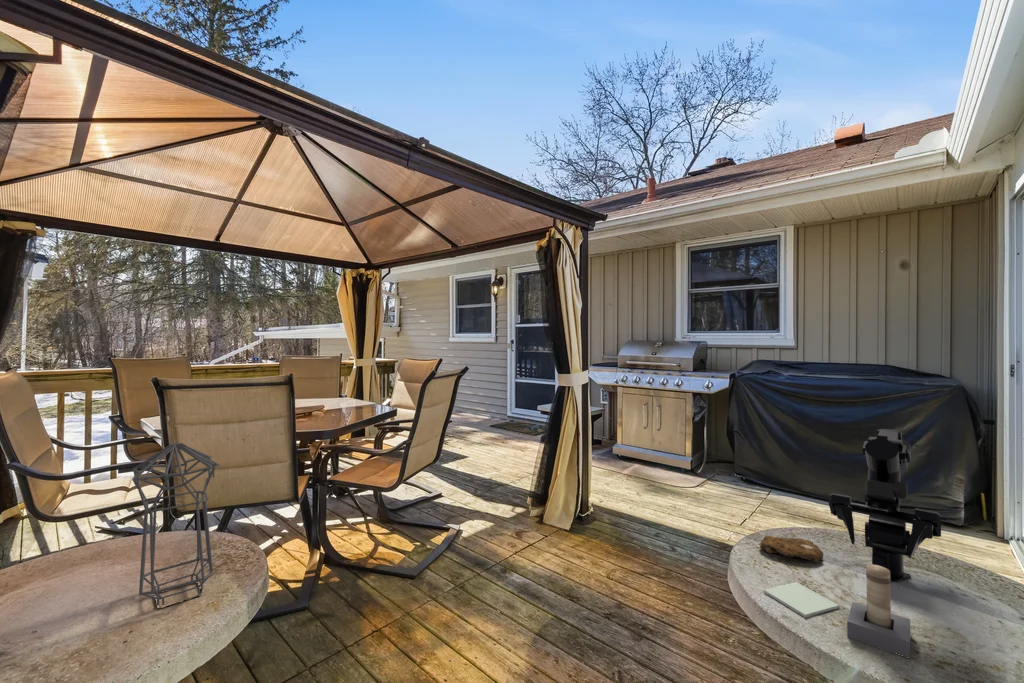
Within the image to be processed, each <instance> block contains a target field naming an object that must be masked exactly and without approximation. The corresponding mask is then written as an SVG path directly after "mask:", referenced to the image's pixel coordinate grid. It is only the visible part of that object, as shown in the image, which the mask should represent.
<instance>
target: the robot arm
mask: <svg viewBox="0 0 1024 683" xmlns="http://www.w3.org/2000/svg"><path fill="white" fill-rule="evenodd" d="M876 432H877V434H876V435H875V436H869V437H868V439H867V441H866V440H865V441H864V442H863V447H862V454H863V456H865V458H866V465H867V467H868V468H867V470H868V472H867V479H866V480H865V489H864V499H863V500H864V502H865V504H862V503H857V502H856V503H855V502H852V496H850V495H845V494H839V493H834V492H833V493H830V494H829V496H828V507H829V509H830V510H829V511H830V514H832V515H833V516H835V517H837V519H838V520H841V521H843V524H844V526H845V528H846V530H847V533H848V536H849V540H850V543H851V544H852V545H855V540H856V538H855V524H854V517H853V513H857V514H862V515H867V516H868V521H865V523H864V540H865V541H864V542H865V545H864V546H865V547H868V548H871V549H872V551H871V552H872V554H871V564H872V565H878V566H882V567H884V568H887V569H888V570H889V571H890V577H891V582H899V581H902V580H906V579H909V578H912V575H911V574H909V573H907V572H904V571H905V570H904V568H905V566H904V556H906V557H907V558H908V559H912V557H913V556H915V552H916V551H917V549H918V548H919V547H920V545H921V544H922V543H923V542H924V541H925V540H926V539H930V540H931V539H932V540H933V537H936V538H940V537H942V516H941V514H940V513H939V512H937V511H933V510H928V509H922V508H917V507H915V508H914V513H910V512H909V513H908V512H903V511H900V505H901V504H900V500H901V499H902V500H908V482H903V481H902V482H901V476H902V475H903V474H905V473H906V472H908V464H911V462H912V460H911V459H912V457H911V451H912V450H911V443H910V442H909V441H908V440H906V439H905V438H904V437H902V436H903V435H902V431H899V430H897V429H896V430H895V429H890V428H889V429H888V428H880V429H877V430H876ZM907 524H911V525H912V526H911V530H907ZM910 531H911V532H910Z"/></svg>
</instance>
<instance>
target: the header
mask: <svg viewBox="0 0 1024 683" xmlns="http://www.w3.org/2000/svg"><path fill="white" fill-rule="evenodd" d="M846 622H847V623H846V624H847V626H846V632H847V634H846V635H847V636H846V637H848V638H850V639H852V640H856V641H858V642H861V643H864V642H865V643H864V644H867V645H869V644H870V646H872V647H874V648H878V649H881V650H884V651H886V652H890V653H892V652H893V654H895V653H897V654H900V655H903V656H905V657H904V658H906V657H909V658H910V656H909V654H910V652H911V619H910V618H908V617H904V616H900V615H898V614H894V613H891V630H890V629H887V628H884V627H881V626H878V625H875V624H872V623H869V622H867V605H866V604H862V603H860V602H856V601H852V603H851V606H850V609H849V613H848V617H847V621H846ZM897 654H896V655H897ZM900 655H899V656H900ZM903 656H902V657H903Z"/></svg>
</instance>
